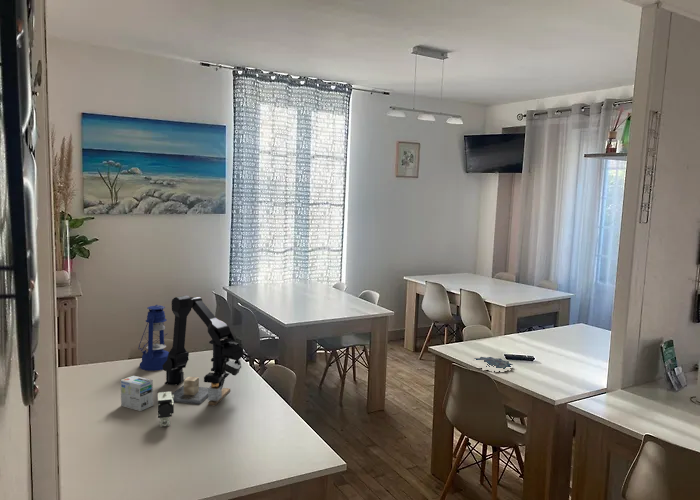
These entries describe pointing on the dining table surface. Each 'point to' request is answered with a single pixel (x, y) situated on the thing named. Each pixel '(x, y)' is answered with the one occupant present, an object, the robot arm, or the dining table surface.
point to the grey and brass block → (214, 392)
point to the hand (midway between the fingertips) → (219, 392)
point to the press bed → (197, 396)
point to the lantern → (155, 351)
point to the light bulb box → (136, 393)
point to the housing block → (191, 385)
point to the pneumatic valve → (165, 407)
